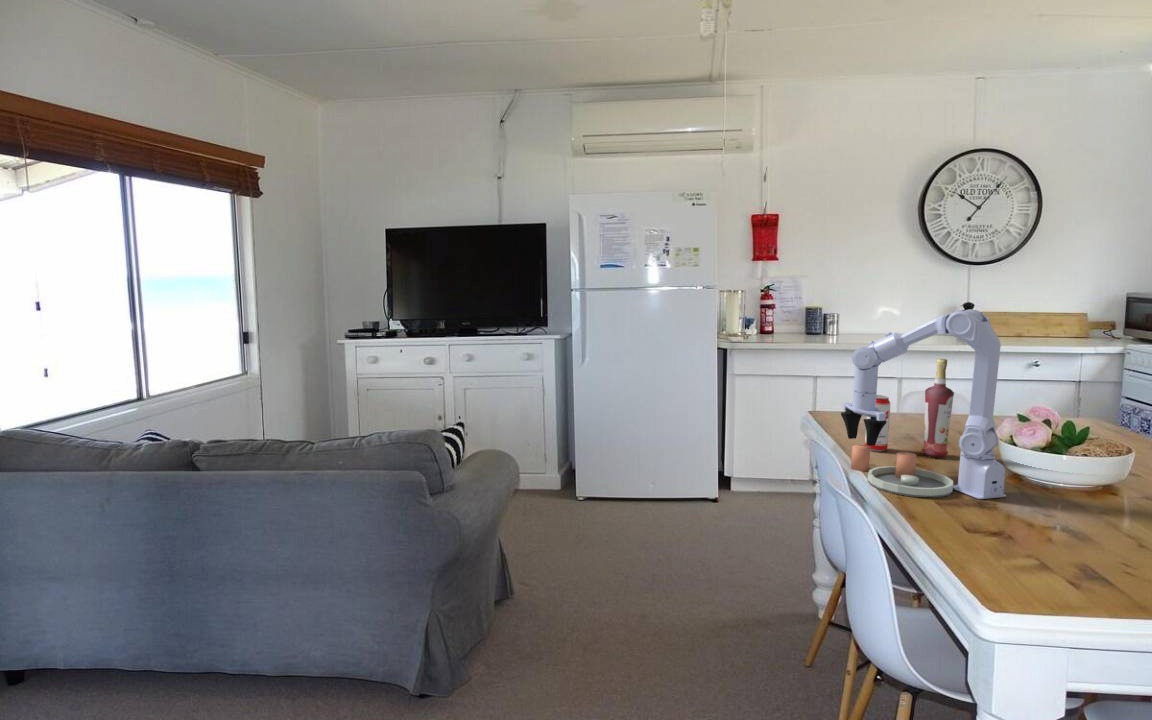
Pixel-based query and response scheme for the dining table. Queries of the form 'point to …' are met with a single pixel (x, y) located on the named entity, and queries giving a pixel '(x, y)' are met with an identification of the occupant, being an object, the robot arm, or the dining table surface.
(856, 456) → the reddish brown rounded cylinder
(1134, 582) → the dining table surface
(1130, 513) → the dining table surface
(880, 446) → the beer can
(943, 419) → the liquor
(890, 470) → the groove tray
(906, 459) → the salmon rounded capsule
